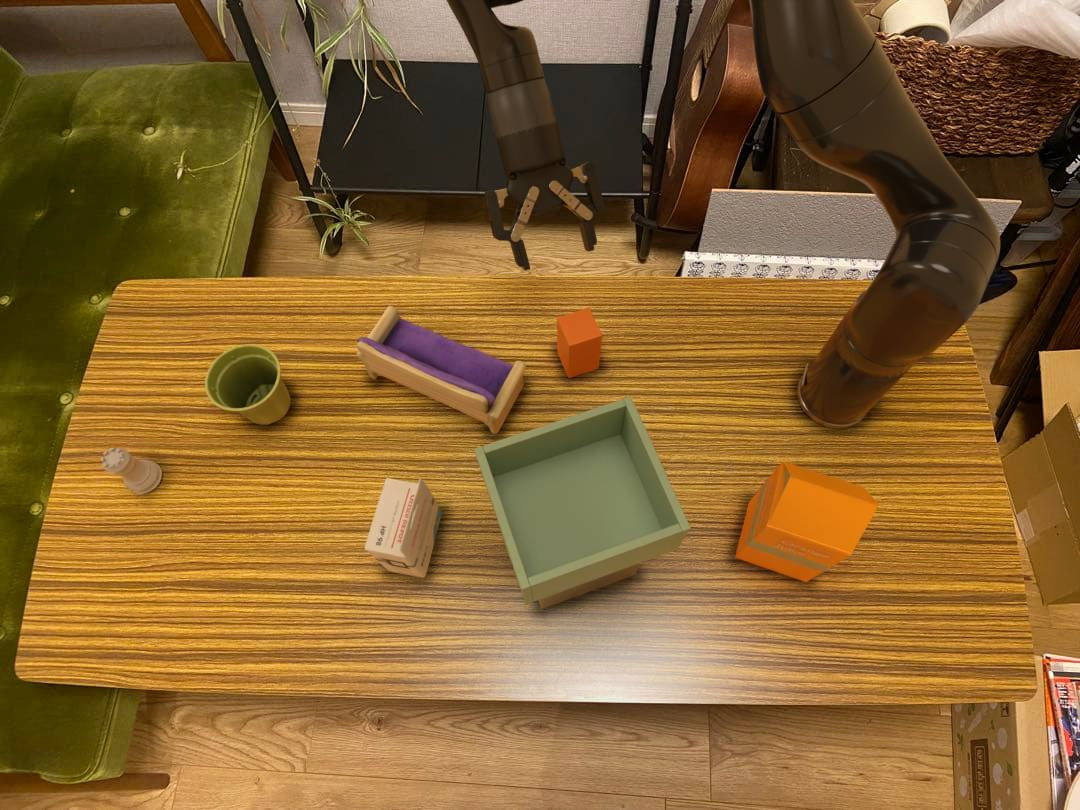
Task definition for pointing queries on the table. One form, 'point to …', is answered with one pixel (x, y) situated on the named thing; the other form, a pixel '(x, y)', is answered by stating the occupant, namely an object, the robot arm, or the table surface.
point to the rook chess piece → (132, 470)
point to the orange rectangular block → (578, 342)
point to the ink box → (404, 527)
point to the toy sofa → (442, 369)
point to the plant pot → (248, 384)
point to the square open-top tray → (581, 499)
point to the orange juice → (804, 522)
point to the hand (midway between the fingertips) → (558, 259)
